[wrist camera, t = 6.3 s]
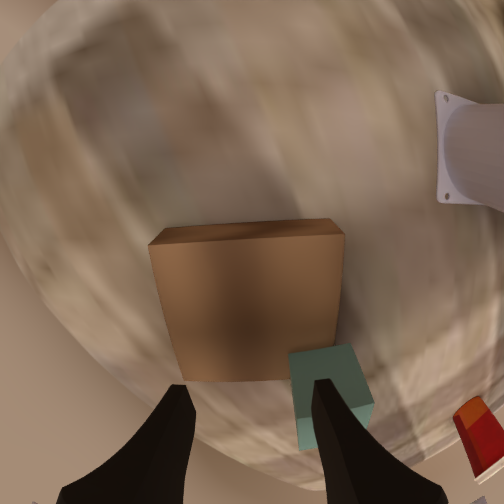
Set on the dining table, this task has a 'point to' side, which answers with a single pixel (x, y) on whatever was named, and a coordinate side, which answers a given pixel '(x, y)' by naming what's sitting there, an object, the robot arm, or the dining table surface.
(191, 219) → the dining table surface
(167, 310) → the walnut plinth
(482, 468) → the paper cup
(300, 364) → the teal block
